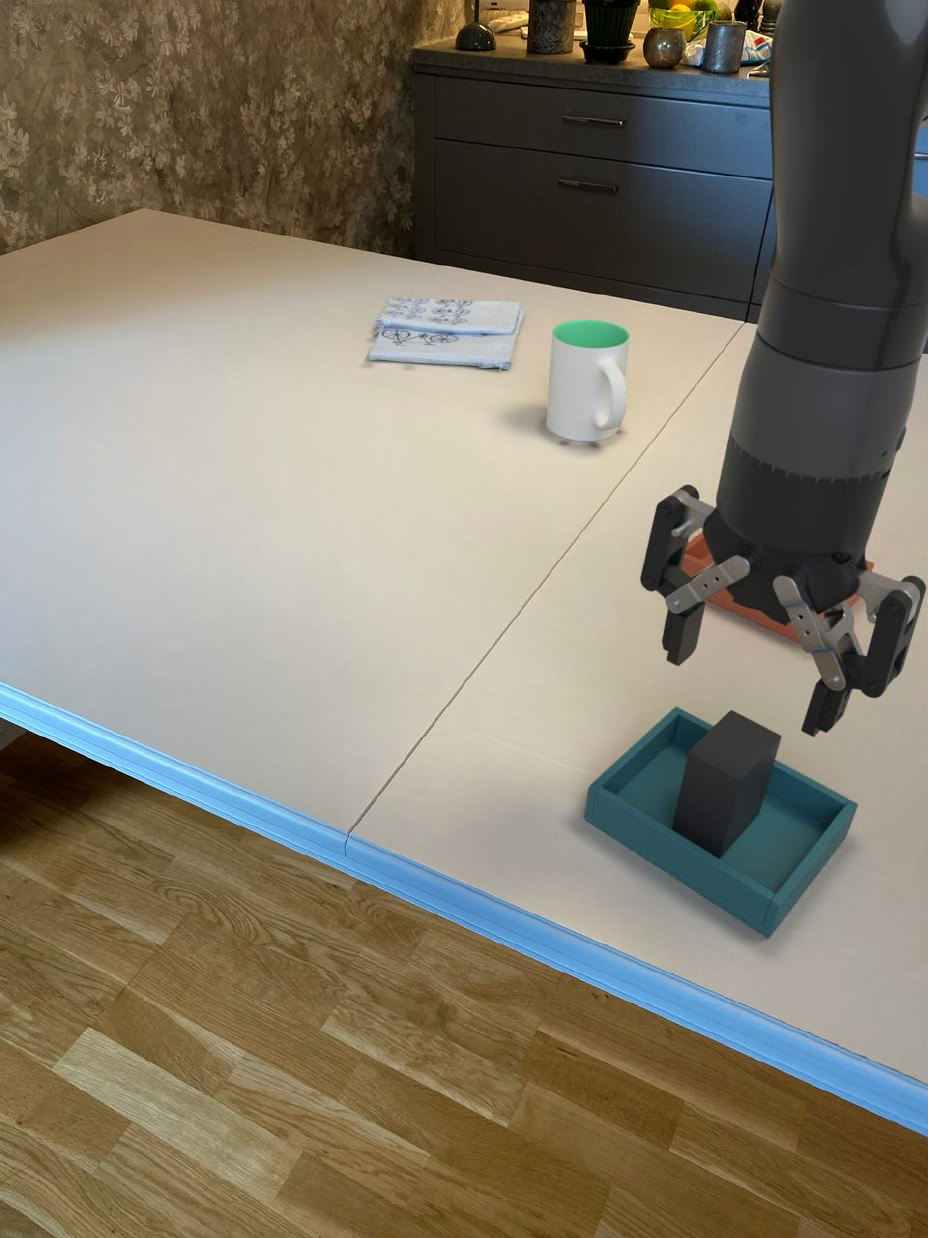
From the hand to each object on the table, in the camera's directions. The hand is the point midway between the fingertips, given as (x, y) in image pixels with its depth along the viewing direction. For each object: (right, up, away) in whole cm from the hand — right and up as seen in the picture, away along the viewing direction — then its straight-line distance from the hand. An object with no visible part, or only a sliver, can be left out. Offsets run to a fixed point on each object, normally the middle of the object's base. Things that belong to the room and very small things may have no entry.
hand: (745, 691), depth 56 cm
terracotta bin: (+10, +7, +28) cm, 31 cm away
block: (0, -9, +7) cm, 11 cm away
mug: (-2, +24, +52) cm, 57 cm away
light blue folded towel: (-18, +41, +73) cm, 85 cm away
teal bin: (0, -9, +7) cm, 12 cm away
